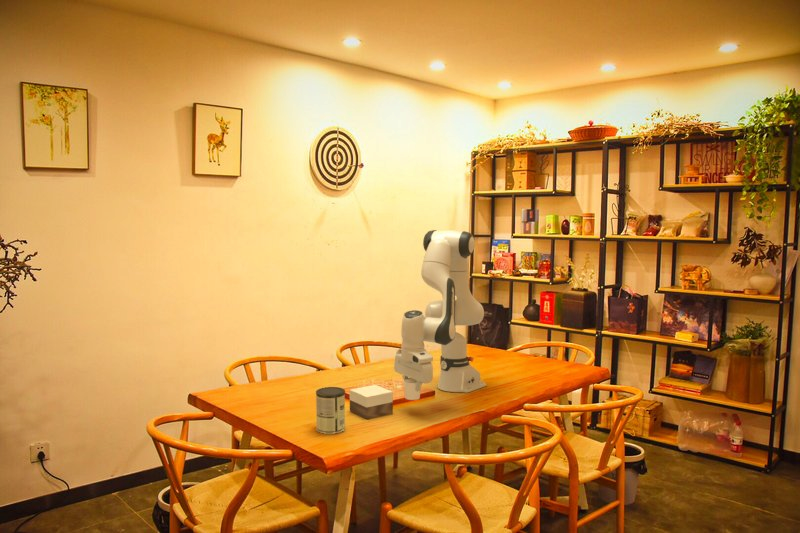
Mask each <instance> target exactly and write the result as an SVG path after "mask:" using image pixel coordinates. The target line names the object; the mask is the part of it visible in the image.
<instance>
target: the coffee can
mask: <svg viewBox="0 0 800 533" xmlns="http://www.w3.org/2000/svg"><path fill="white" fill-rule="evenodd" d="M315 394H316V397H315V398H316V399H315V401H316V402H315V403H316V408H315V409H316V410H315V411H316V432H317V433H319V432H320V433H319V434H322V433H324V435H335V433H337V434H340V433H343V432H344V431H345V429H346V415H345V414H346V406H345V405H346V402H345V401H346V399H345V397H346V395H345V394H346V390H345V388H342V387H337V386H328V387H327V386H326V387H321V388H319V389H316V391H315ZM342 431H343V432H342Z"/></svg>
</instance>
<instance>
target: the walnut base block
mask: <svg viewBox="0 0 800 533" xmlns="http://www.w3.org/2000/svg"><path fill="white" fill-rule="evenodd" d="M393 402H394V401H393ZM393 402H390V403H386V404H381V405H376V406H372V407H367V408H366V407H364V406H362V405H360V404H358V403H355V402H353V401H351V400H350V399H349V412H350V413H352V414H354V415H356V416H358V417H360V418H363V419H364V420H368V421H369V420H372V419H375V418H381V417H384V416H389V415H390V416H391V415H393V413H394V408H393V406H394V403H393Z"/></svg>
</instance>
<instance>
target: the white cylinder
mask: <svg viewBox="0 0 800 533" xmlns="http://www.w3.org/2000/svg"><path fill="white" fill-rule="evenodd" d="M416 385H417V383H416V380H414V379H412V378H409V377H408V378H406V379H403V388H404V399H405V400H408V401H417V400H419V399H420V398H421V390H420V391H416Z"/></svg>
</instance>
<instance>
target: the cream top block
mask: <svg viewBox="0 0 800 533" xmlns="http://www.w3.org/2000/svg"><path fill="white" fill-rule="evenodd" d="M393 392H394V391H392V390H389V389H387V388H384V387H382V386H379V385H377V384H372V385H368V386H362V387H357V388H352V389H351V388H350V389H349V401H350V400H351V401H353V402H355V403H358V404H360V405H362V406H364V407H366V408H367V407H372V406H376V405H381V404H386V403H390V402H394V401H393V400H394V393H393Z"/></svg>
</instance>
